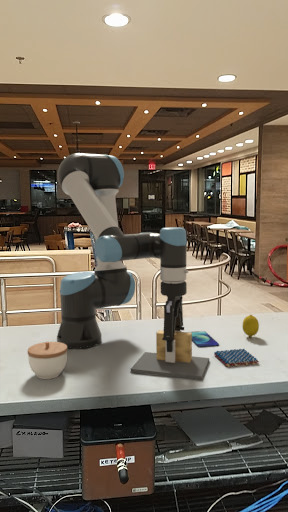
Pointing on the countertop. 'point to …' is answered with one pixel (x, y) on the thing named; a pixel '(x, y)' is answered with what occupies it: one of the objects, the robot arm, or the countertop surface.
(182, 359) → the block
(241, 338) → the countertop surface
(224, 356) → the woven mat
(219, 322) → the countertop surface
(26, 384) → the countertop surface
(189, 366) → the mat
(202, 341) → the smartphone
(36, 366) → the lidded jar
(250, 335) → the lemon
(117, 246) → the robot arm
